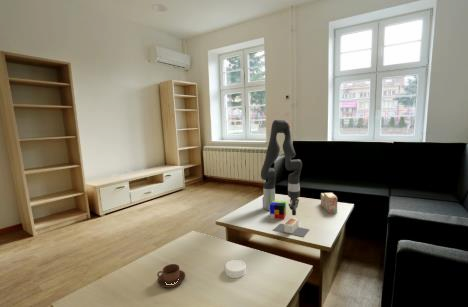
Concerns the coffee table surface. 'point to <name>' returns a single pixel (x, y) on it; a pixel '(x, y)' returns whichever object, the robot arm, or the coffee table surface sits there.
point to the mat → (297, 232)
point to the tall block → (291, 225)
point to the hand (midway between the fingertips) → (294, 214)
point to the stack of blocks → (329, 202)
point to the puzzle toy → (278, 209)
